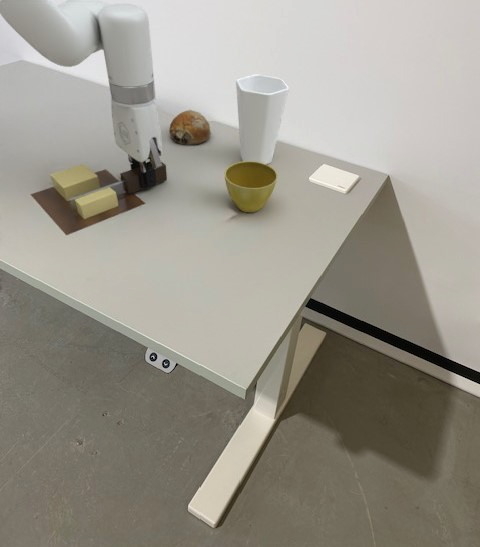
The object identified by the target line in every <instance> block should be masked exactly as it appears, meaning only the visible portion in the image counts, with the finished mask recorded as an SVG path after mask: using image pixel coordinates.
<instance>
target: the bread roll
mask: <svg viewBox="0 0 480 547" xmlns="http://www.w3.org/2000/svg"><path fill="white" fill-rule="evenodd" d="M168 132H169V135H170V138H171V139H172V140H173V141H174V142H176V143H178V144H179V145H187V146H189V145H190V146H192V145H200V144H202V143H203V142H206V141H208V140H209V139H210V137H211V127H210V123H209V121H208V120H207V119H206V117H205V116H204V115H203V114H202V113H201V112H198V111H195V110H192V109H188V110H185V111H182V112H180V113H179V114H177V115H176V116H175V117H174V118H173V119H172V121H171V122H170V125H169V131H168Z"/></svg>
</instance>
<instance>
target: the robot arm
mask: <svg viewBox="0 0 480 547" xmlns="http://www.w3.org/2000/svg"><path fill="white" fill-rule="evenodd" d="M0 15H1V17H2V18H3V19H4V21H5V22H6V23H7V24H8V25H9V26H10V27H11V28H12V29H13V30H14V31H15V32H16V33H17V34H18V35H19V36H20V37H21V38H22V39H23V40H24V41H25V42H26V43H27V44H29V46H31V47H32V48H33V49H34V50H35V51H36V52H37V53H39V55H41V56H42V57H43V58H45V59H47V60H48V61H49V62H51V63H53V64H55V65H57V66H60V67H63V68H67V67H68V68H72V67H76V66H78V65H80V64H81V63H83V62H84V61H85V60H87V59H88V58H89V57H90V56H91V55H93V54H95V53H98V52H99V51H103V57H104V62H105V68H106V73H107V79H108V80H107V81H108V86H109V91H110V107H111V108H110V109H111V121H112V128H113V129H112V130H113V136H114V143H115V144H116V146H117V147H118V148H119V149H121V150H122V151H124V152H125V153H126V154H127V159H128V162H129V163H130V164H129V166H130V170H132V169H135V168H138V167H140V168H141V171H139V175H140V182H141V188H142V189H141V190H143V191H144V190H147V189H150V188H153V187H156V186H157V184H156V175H155V169H156V168H157V167H160V166H162V163H163V162H162V159H161V157H162V154H163V139H162V131H161V125H160V119H159V114H158V108H157V105H156V100H157V95H156V85H155V77H154V76H155V75H154V74H155V73H154V64H153V63H154V62H153V53H152V52H153V51H152V41H151V30H150V20H149V17H148V13H147V12H146V10H145V9H144V8H143V7H142V6H139V5H136V4H131V3H108V2H103V1H99V0H66V1H64V2H62V3H59V4H55V2H53V0H0ZM148 160H149V161H148ZM161 162H162V163H161Z"/></svg>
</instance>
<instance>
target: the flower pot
mask: <svg viewBox="0 0 480 547" xmlns="http://www.w3.org/2000/svg"><path fill="white" fill-rule="evenodd" d="M223 174H224V181H225V182H224V183H225V186H226V189H227V191H228V194H229V196H230V199H231V201H232V203H234V205H235V206H236V208H237V209H238V210H239V211H241V212H244V213H256V212H258V211H260V210H261V209H262V208H263V207H264V206H265V205H266V203H268V200H269V199H270V198H271V196H272V195H273V194H272V193H273V192H274V189H275V187H276V183H277V181H278V173H277V171H276V169H275V168H274V167H272V166H271V165H269V164H264V163H260V162H255V161H243V160H242V161H238V162H235V163H232V164H231V165H229V166H228V167H227V168H226V169H225V170H224V173H223Z"/></svg>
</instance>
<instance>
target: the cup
mask: <svg viewBox="0 0 480 547" xmlns="http://www.w3.org/2000/svg"><path fill="white" fill-rule="evenodd" d="M235 85H236V86H235V87H236V100H237V101H236V102H237V103H236V104H237V114H238V115H237V117H238V118H237V119H238V132H239V135H238V136H239V146H240V147H239V150H240V158H241V160H242V162H243V161H255V162H260V163H264V164H267V165H269V164H271V163H272V161H273V158H274V153H275V149H276V146H277V142H278V136H279V132H280V128H281V124H282V119H283V115H284V111H285V108H286V103H287V99H288V95H289V92H290V91H289V90H290V87H289V86H288V85H287V83H286V82H285V81H284V80H283V78H281V77H276V76H270V75H264V74H258V73H256V74H251V75H247V76H243V77H240V78H237V79H236V80H235Z"/></svg>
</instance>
